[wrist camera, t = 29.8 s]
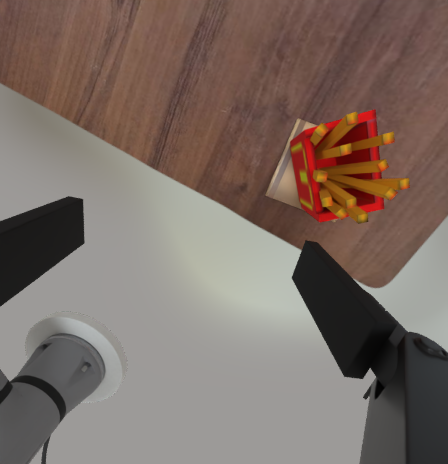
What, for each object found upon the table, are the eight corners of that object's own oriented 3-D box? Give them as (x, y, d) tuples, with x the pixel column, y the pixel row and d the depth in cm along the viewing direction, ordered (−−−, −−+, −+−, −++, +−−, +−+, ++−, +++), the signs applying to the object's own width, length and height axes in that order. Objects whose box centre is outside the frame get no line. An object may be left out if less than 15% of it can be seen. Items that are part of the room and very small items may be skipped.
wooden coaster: (333, 221, 34) (335, 222, 33) (264, 195, 34) (265, 195, 33) (372, 148, 30) (376, 147, 29) (296, 119, 31) (298, 118, 30)
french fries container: (296, 207, 33) (325, 233, 19) (284, 143, 31) (307, 123, 17) (346, 196, 31) (415, 215, 18) (338, 128, 29) (408, 93, 16)
